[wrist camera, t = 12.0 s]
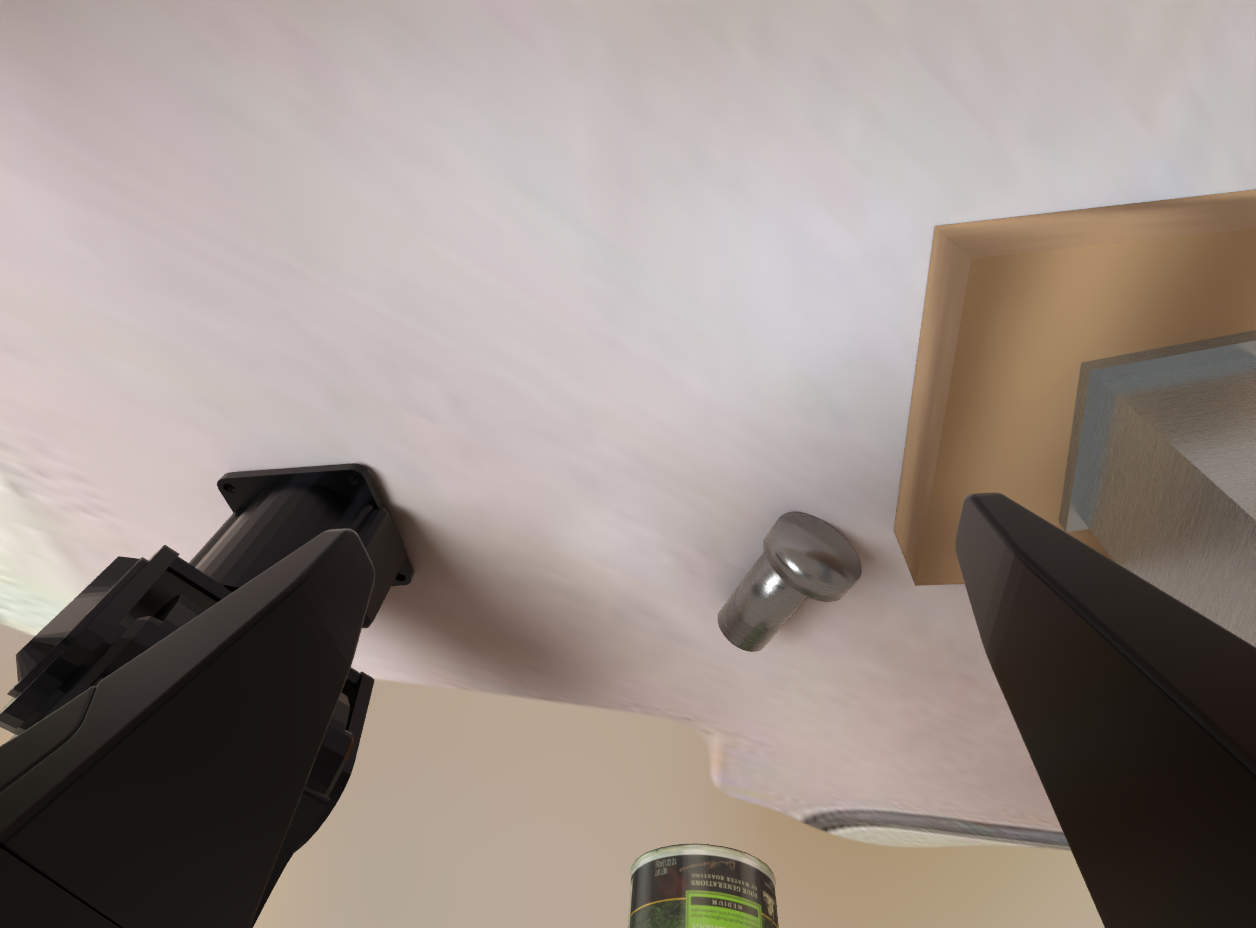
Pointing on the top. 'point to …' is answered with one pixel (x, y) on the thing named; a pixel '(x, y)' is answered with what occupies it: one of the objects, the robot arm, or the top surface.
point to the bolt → (788, 579)
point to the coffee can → (701, 889)
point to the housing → (1172, 471)
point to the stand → (1050, 345)
